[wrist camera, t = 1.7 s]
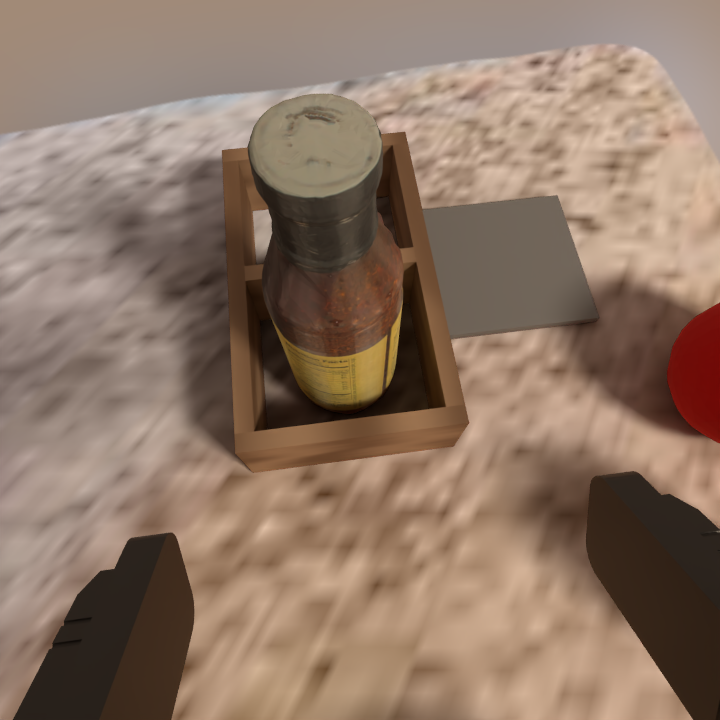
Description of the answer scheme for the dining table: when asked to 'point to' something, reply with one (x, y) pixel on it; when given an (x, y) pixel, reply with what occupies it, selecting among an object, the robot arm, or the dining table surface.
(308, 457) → the caddy
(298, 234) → the sauce bottle
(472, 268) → the coaster
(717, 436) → the fruit
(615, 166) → the dining table surface
